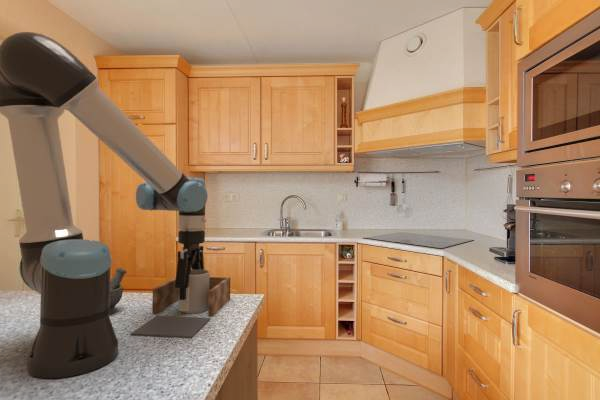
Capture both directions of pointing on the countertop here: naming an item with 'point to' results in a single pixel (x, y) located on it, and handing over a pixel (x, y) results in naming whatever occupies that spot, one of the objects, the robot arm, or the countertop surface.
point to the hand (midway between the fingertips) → (190, 305)
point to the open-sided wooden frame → (170, 294)
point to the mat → (171, 326)
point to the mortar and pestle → (116, 289)
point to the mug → (198, 291)
